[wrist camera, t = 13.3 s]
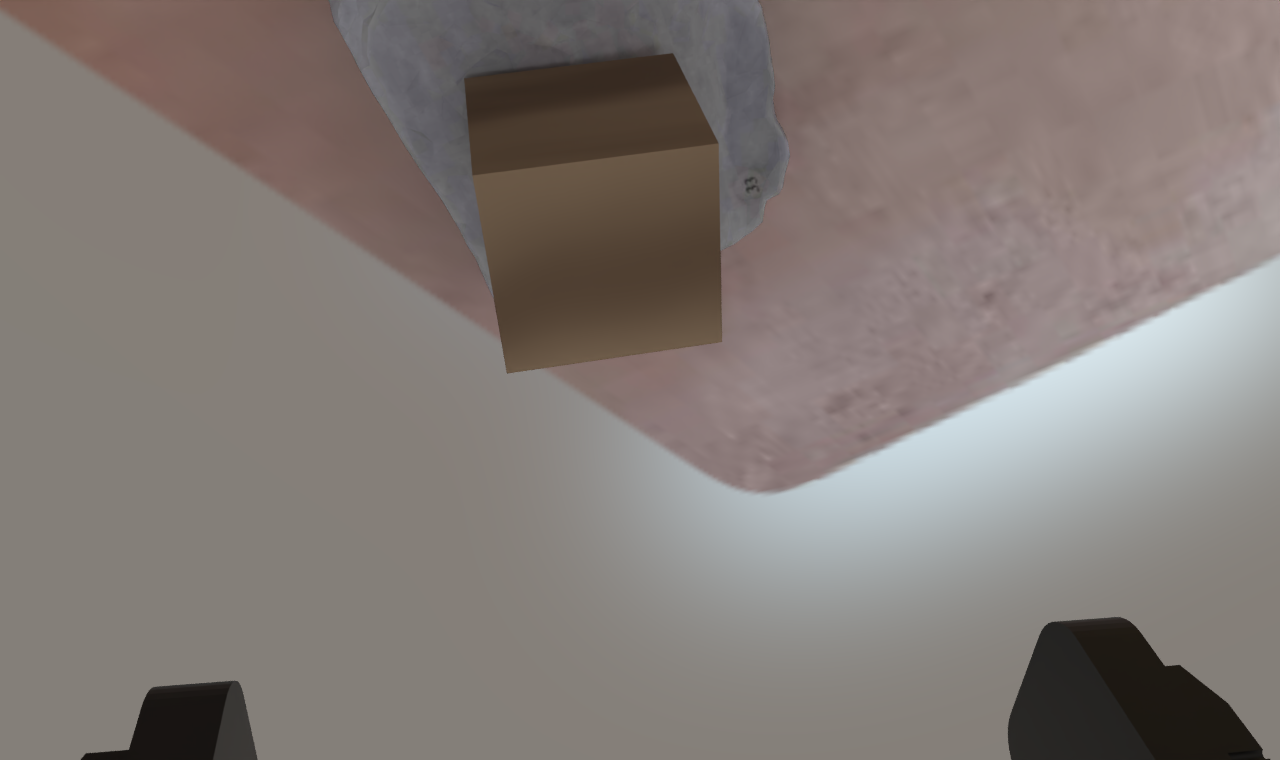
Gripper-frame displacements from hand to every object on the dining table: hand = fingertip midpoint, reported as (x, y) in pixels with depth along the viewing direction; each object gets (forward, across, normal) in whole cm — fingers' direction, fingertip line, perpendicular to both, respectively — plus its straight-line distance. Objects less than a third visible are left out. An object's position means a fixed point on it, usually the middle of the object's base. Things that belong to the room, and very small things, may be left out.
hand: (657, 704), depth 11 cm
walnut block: (+18, -1, +2) cm, 19 cm away
